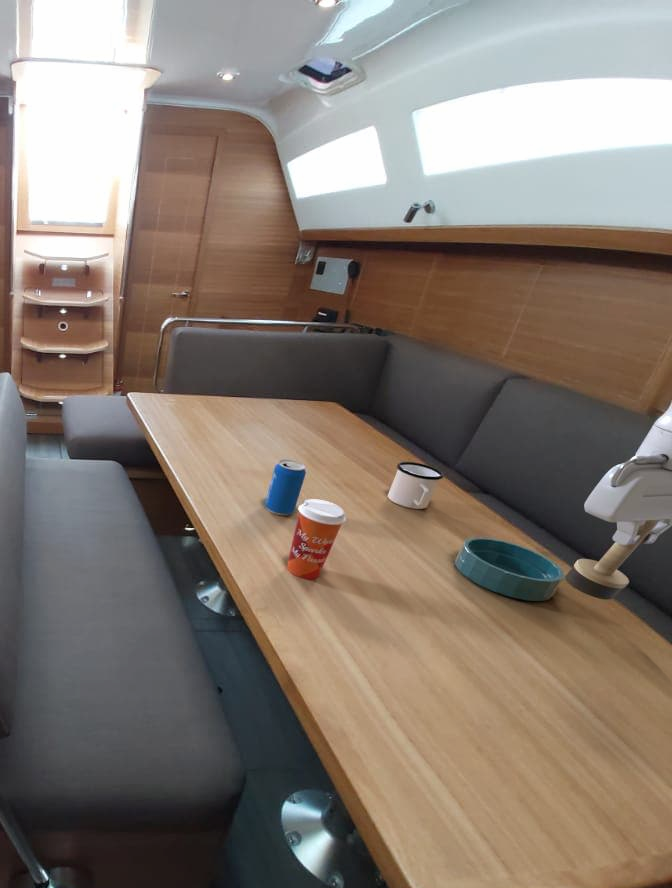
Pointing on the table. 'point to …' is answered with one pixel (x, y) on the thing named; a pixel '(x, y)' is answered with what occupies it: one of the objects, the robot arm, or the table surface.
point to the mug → (414, 484)
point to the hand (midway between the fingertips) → (631, 542)
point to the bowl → (509, 569)
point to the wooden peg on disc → (606, 569)
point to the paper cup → (314, 537)
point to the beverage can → (285, 487)
